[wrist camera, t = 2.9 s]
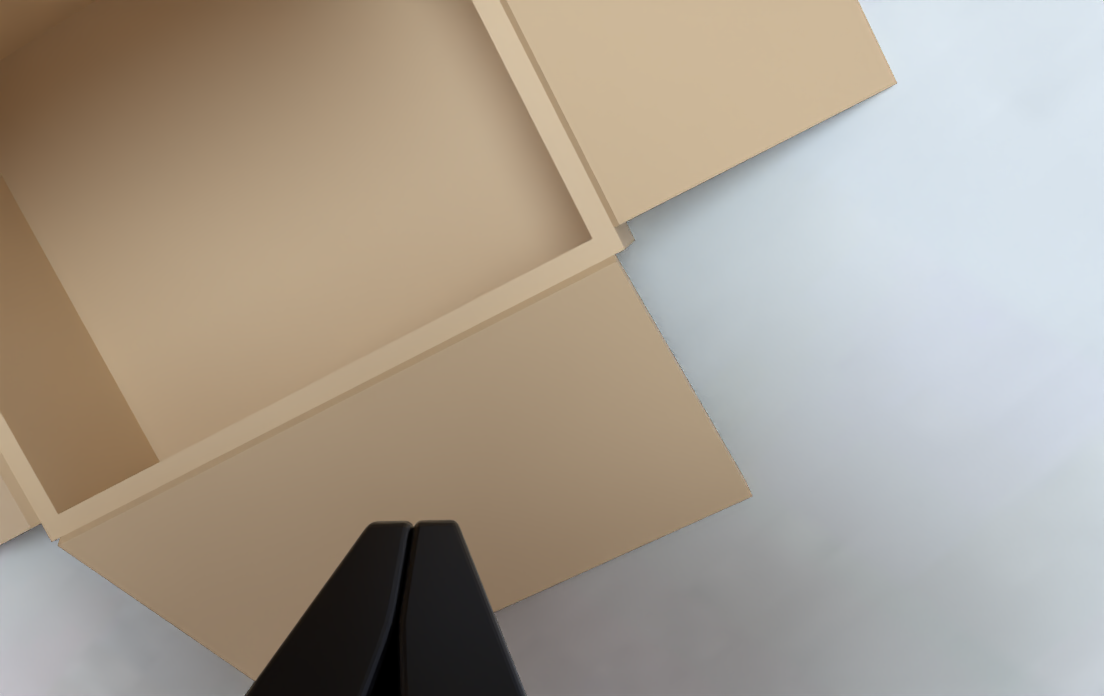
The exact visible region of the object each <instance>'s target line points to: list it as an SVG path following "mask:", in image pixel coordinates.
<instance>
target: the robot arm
mask: <svg viewBox="0 0 1104 696" xmlns="http://www.w3.org/2000/svg"><path fill="white" fill-rule="evenodd" d="M245 696H526V693H525V690H524V688H523V685H522V683H521V680H520V678H519V675H518V673H517V670H516V668H515V665H514V663H513V660H512V658H511V655H510V652H509V650H508V647H507V645H506V642H505V640H504V637H503V635H502V632H501V630H500V627H499V625H498V622H497V620H496V617H495V615H494V612H493V609H492V607H491V604H490V602H489V599H488V597H487V594H486V592H485V589H484V587H483V584H482V582H481V579H480V577H479V574H478V572H477V569H476V566H475V564H474V561H473V559H472V556H471V554H470V551H469V549H468V546H467V544H466V541H465V539H464V536H463V534H462V531H461V529H460V526H459V524H458V523H457V522H456V521H454V520H421V521H418V522H417V523H416V524H415V526H413V524H412V523H410V522H409V521H375V522H372V523H370V524H369V525H368V526H367V527H366V528H365V529H364V531H363V532H362V533H361V535H360V536H359V538H358V539H357V540H356V542H355V543H354V545H353V546H352V547H351V549H350V550H349V551H348V553H347V554H346V556H345V557H344V558H343V560H342V561H341V563H340V564H339V565H338V567H337V568H336V569H335V571H334V572H333V574H332V575H331V576H330V578H329V579H328V581H327V582H326V583H325V585H324V586H323V588H322V589H321V590H320V592H319V593H318V594H317V596H316V597H315V599H314V600H313V601H312V603H311V604H310V606H309V607H308V608H307V610H306V611H305V613H304V614H303V615H302V617H301V618H300V619H299V621H298V622H297V624H296V625H295V626H294V628H293V629H292V631H291V632H290V633H289V635H288V636H287V638H286V639H285V640H284V642H283V643H282V644H281V646H280V647H279V649H278V650H277V651H276V653H275V654H274V656H273V657H272V658H271V660H270V661H269V662H268V664H267V665H266V667H265V668H264V669H263V671H262V672H261V674H260V675H259V676H258V678H257V679H256V681H255V682H254V683H253V685H252V686H251V687H250V689H249V690H248V692H247V693H246V694H245Z"/></svg>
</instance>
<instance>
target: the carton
mask: <svg viewBox="0 0 1104 696" xmlns="http://www.w3.org/2000/svg"><path fill="white" fill-rule="evenodd" d="M896 83H897V82H896V80H895V78H894V75H893V73H892V71H891V69H890V67H889V65H888V63H887V61H886V59H885V56H884V54H883V52H882V50H881V48H880V46H879V44H878V42H877V40H876V38H875V35H874V33H873V31H872V29H871V27H870V25H869V23H868V21H867V19H866V16H865V14H864V12H863V10H862V8H861V6H860V4H859V2H858V0H0V545H1V544H3V543H5V542H7V541H9V540H11V539H13V538H15V537H17V536H18V535H20V534H22V533H24V532H26V531H28V530H30V529H32V528H34V527H35V526H37V525H39V524H42V526H43V527H44V529H45V531H46V533H47V535H48V536H49V538H50V540H51V542H53V541H54V540H56V539H58V538H60V540H59V543H58V546H59V547H60V548H62V549H63V550H65V551H66V552H68V553H69V554H71V555H72V556H73V557H75V558H76V559H78V560H79V561H81V562H82V563H84V564H85V565H87V566H88V567H89V568H91V569H92V570H94V571H95V572H97V573H98V574H100V575H101V576H102V577H104V578H105V579H107V580H108V581H110V582H111V583H113V584H114V585H116V586H117V587H118V588H120V589H121V590H123V591H124V592H126V593H127V594H129V595H130V596H132V597H133V598H134V599H136V600H137V601H139V602H140V603H142V604H143V605H145V606H146V607H148V608H149V609H150V610H152V611H153V612H155V613H156V614H158V615H159V616H161V617H162V618H164V619H165V620H166V621H168V622H169V623H171V624H172V625H174V626H175V627H177V628H178V629H180V630H181V631H182V632H184V633H185V634H187V635H188V636H190V637H191V638H193V639H194V640H196V641H197V642H198V643H200V644H201V645H203V646H204V647H206V648H207V649H209V650H210V651H212V652H213V653H214V654H216V655H217V656H219V657H220V658H222V659H223V660H225V661H226V662H227V663H229V664H230V665H232V666H233V667H235V668H236V669H238V670H239V671H241V672H242V673H243V674H245V675H246V676H248V677H249V678H251V679H252V680H254V681H256V679H257V678H258V676H259V675H260V674H261V672H262V671H263V669H264V668H265V667H266V665H267V664H268V662H269V661H270V660H271V658H272V657H273V656H274V654H275V653H276V651H277V650H278V649H279V647H280V646H281V644H282V643H283V642H284V640H285V639H286V638H287V636H288V635H289V633H290V632H291V631H292V629H293V628H294V626H295V625H296V624H297V622H298V621H299V619H300V618H301V617H302V615H303V614H304V613H305V611H306V610H307V608H308V607H309V606H310V604H311V603H312V601H313V600H314V599H315V597H316V596H317V594H318V593H319V592H320V590H321V589H322V588H323V586H324V585H325V583H326V582H327V581H328V579H329V578H330V576H331V575H332V574H333V572H334V571H335V569H336V568H337V567H338V565H339V564H340V563H341V561H342V560H343V558H344V557H345V556H346V554H347V553H348V551H349V550H350V549H351V547H352V546H353V545H354V543H355V542H356V540H357V539H358V538H359V536H360V535H361V533H362V532H363V531H364V529H365V528H366V527H367V526H368V525H369V524H370V523H372V522H375V521H409V522H410V523H412V524H413V526H415V524H416V523H417V522H418V521H421V520H454V521H456V522H457V523H458V524H459V526H460V529H461V531H462V534H463V536H464V539H465V541H466V544H467V546H468V549H469V551H470V554H471V556H472V559H473V561H474V564H475V566H476V569H477V572H478V574H479V577H480V579H481V582H482V584H483V587H484V589H485V592H486V594H487V597H488V599H489V602H490V604H491V607H492V609H493V612H496V611H498V610H501V609H503V608H505V607H507V606H509V605H512V604H514V603H516V602H518V601H521V600H523V599H525V598H527V597H529V596H532V595H534V594H536V593H538V592H541V591H543V590H545V589H547V588H549V587H552V586H554V585H556V584H558V583H561V582H563V581H565V580H567V579H570V578H572V577H574V576H576V575H578V574H581V573H583V572H585V571H587V570H590V569H592V568H594V567H596V566H598V565H601V564H603V563H605V562H607V561H610V560H612V559H614V558H616V557H618V556H621V555H623V554H625V553H627V552H630V551H632V550H634V549H636V548H638V547H641V546H643V545H645V544H647V543H650V542H652V541H654V540H656V539H659V538H661V537H663V536H665V535H667V534H670V533H672V532H674V531H676V530H679V529H681V528H683V527H685V526H687V525H690V524H692V523H694V522H696V521H699V520H701V519H703V518H705V517H707V516H710V515H712V514H714V513H716V512H719V511H721V510H723V509H725V508H728V507H730V506H732V505H734V504H736V503H739V502H741V501H743V500H745V499H748V498H750V497H752V494H751V492H750V489H749V487H748V485H747V483H746V481H745V479H744V477H743V475H742V474H741V472H740V470H739V468H738V467H737V465H736V463H735V461H734V460H733V458H732V456H731V454H730V453H729V451H728V449H727V447H726V446H725V444H724V442H723V441H722V439H721V437H720V435H719V434H718V432H717V430H716V428H715V427H714V425H713V423H712V421H711V420H710V418H709V416H708V414H707V413H706V411H705V409H704V407H703V406H702V404H701V402H700V401H699V399H698V397H697V395H696V394H695V392H694V390H693V388H692V387H691V385H690V383H689V381H688V380H687V378H686V376H685V374H684V373H683V371H682V369H681V368H680V366H679V364H678V362H677V361H676V359H675V357H674V355H673V354H672V352H671V350H670V348H669V347H668V345H667V343H666V341H665V340H664V338H663V336H662V335H661V333H660V331H659V329H658V328H657V326H656V324H655V322H654V321H653V319H652V317H651V315H650V314H649V312H648V310H647V308H646V307H645V305H644V303H643V302H642V300H641V298H640V296H639V295H638V293H637V291H636V289H635V288H634V286H633V284H632V282H631V281H630V279H629V277H628V275H627V274H626V272H625V270H624V269H623V267H622V265H621V263H620V262H619V260H618V258H617V256H616V255H615V254H617V253H619V252H621V251H623V250H625V249H626V248H627V247H628V246H629V245H630V244H631V243H633V242H634V241H635V239H634V237H633V235H632V233H631V231H630V229H629V227H628V225H627V223H626V221H628V220H630V219H632V218H634V217H636V216H638V215H640V214H642V213H644V212H646V211H648V210H650V209H652V208H654V207H656V206H658V205H660V204H662V203H664V202H666V201H668V200H669V199H671V198H673V197H675V196H677V195H679V194H681V193H683V192H685V191H687V190H689V189H691V188H693V187H695V186H697V185H699V184H701V183H703V182H705V181H707V180H709V179H711V178H713V177H715V176H717V175H718V174H720V173H722V172H724V171H726V170H728V169H730V168H732V167H734V166H736V165H738V164H740V163H742V162H744V161H746V160H748V159H750V158H752V157H754V156H756V155H758V154H760V153H762V152H764V151H765V150H767V149H769V148H771V147H773V146H775V145H777V144H779V143H781V142H783V141H785V140H787V139H789V138H791V137H793V136H795V135H797V134H799V133H801V132H803V131H805V130H807V129H809V128H811V127H813V126H814V125H816V124H818V123H820V122H822V121H824V120H826V119H828V118H830V117H832V116H834V115H836V114H838V113H840V112H842V111H844V110H846V109H848V108H850V107H852V106H854V105H856V104H858V103H860V102H862V101H863V100H865V99H867V98H869V97H871V96H873V95H875V94H877V93H879V92H881V91H883V90H885V89H887V88H889V87H891V86H893V85H895V84H896Z"/></svg>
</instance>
